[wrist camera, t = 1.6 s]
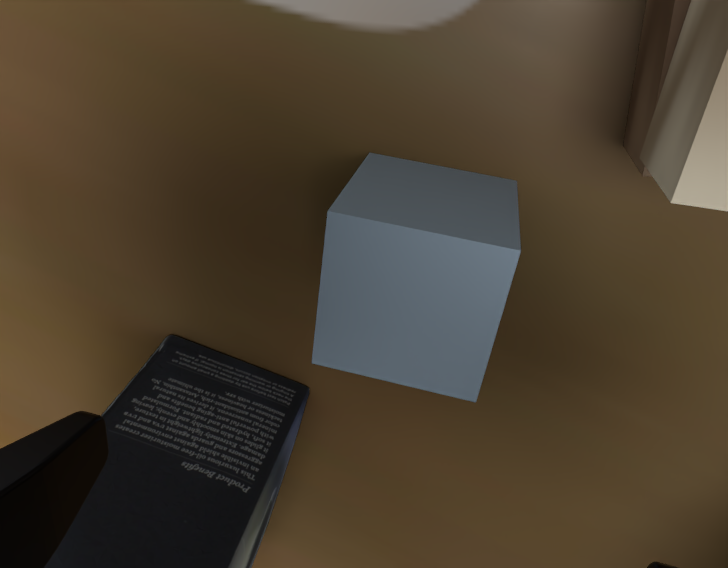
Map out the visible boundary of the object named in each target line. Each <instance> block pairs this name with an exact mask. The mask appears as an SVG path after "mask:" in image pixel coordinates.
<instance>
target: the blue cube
mask: <svg viewBox="0 0 728 568" xmlns="http://www.w3.org/2000/svg"><path fill="white" fill-rule="evenodd" d="M520 252H521V243H520V226H519V209H518V192H517V181H515V180H510V179H505V178H500V177H495V176H489V175H484V174H479V173H474V172H469V171H463V170H458V169H453V168H448V167H443V166H437V165H432V164H427V163H422V162H416V161H411V160H406V159H401V158H396V157H390V156H385V155H380V154H375V153H369V154H368V155H367V157H366V158H365V160H364V161H363V162H362V164H361V165H360V167H359V168H358V169H357V171H356V172H355V174H354V175H353V176H352V178H351V179H350V180H349V182H348V183H347V185H346V186H345V187H344V189H343V190H342V192H341V193H340V194H339V196H338V197H337V199H336V200H335V201H334V203H333V204H332V206H331V207H330V208H329V210H328V212H327V221H326V231H325V240H324V250H323V259H322V269H321V278H320V288H319V297H318V307H317V316H316V326H315V335H314V345H313V355H312V363H313V364H317V365H321V366H325V367H329V368H334V369H338V370H342V371H346V372H350V373H355V374H359V375H363V376H367V377H371V378H376V379H380V380H384V381H388V382H392V383H397V384H401V385H405V386H409V387H413V388H418V389H422V390H426V391H430V392H434V393H438V394H443V395H447V396H451V397H455V398H459V399H464V400H468V401H472V402H476V401H477V397H478V394H479V391H480V387H481V384H482V380H483V377H484V374H485V370H486V367H487V364H488V360H489V357H490V353H491V350H492V347H493V343H494V340H495V337H496V333H497V330H498V326H499V323H500V320H501V316H502V313H503V310H504V306H505V303H506V299H507V296H508V293H509V289H510V286H511V283H512V279H513V276H514V273H515V269H516V266H517V262H518V259H519V256H520Z"/></svg>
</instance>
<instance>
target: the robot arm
mask: <svg viewBox="0 0 728 568" xmlns="http://www.w3.org/2000/svg"><path fill="white" fill-rule="evenodd" d="M108 453H109V447H108V440H107V432H106V424H105V420H104V418H103V417H102V416H100V415H97V414H93V413H89V412H85V411H79V412H75V413H73V414H71V415H69V416H67V417H65V418H63V419H61V420H59V421H56V422H54V423H52V424H50V425H48V426H46V427H44V428H42V429H40V430H38V431H36V432H34V433H32V434H30V435H28V436H26V437H23V438H21V439H19V440H17V441H15V442H13V443H11V444H9V445H7V446H5V447H3V448H1V449H0V568H44V567H45V566H46V564H47V563H48V562H49V560H50V559H51V557H52V556H53V554H54V553H55V551H56V550H57V548H58V547H59V545H60V543H61V542H62V540H63V538H64V537H65V535H66V533H67V531H68V530H69V528H70V526H71V524H72V523H73V521H74V519H75V517H76V515H77V514H78V512H79V510H80V508H81V506H82V505H83V503H84V501H85V499H86V498H87V496H88V494H89V492H90V490H91V489H92V487H93V485H94V483H95V482H96V480H97V478H98V476H99V474H100V473H101V471H102V469H103V467H104V465H105V463H106V461H107V458H108ZM647 568H678V567H675V566H671V565H667V564H664V563H660V562H652V563H650V564H649V566H648V567H647Z"/></svg>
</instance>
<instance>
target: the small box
mask: <svg viewBox="0 0 728 568" xmlns="http://www.w3.org/2000/svg"><path fill="white" fill-rule="evenodd" d="M308 396H309V388H308V387H306V386H304V385H302V384H300V383H297V382H295V381H292V380H289V379H287V378H285V377H282V376H279V375H277V374H274V373H271V372H269V371H266V370H264V369H261V368H258V367H256V366H253V365H251V364H248V363H246V362H243V361H240V360H238V359H235V358H232V357H230V356H227V355H225V354H222V353H219V352H216V351H214V350H211V349H209V348H206V347H203V346H201V345H198V344H196V343H193V342H191V341H188V340H185V339H183V338H180V337H177V336H174V335H170V336H167V337H166V338H165V339H164V340H163V342H162V343H161V344H160V346H159V347H158V348H157V349H156V351H155V352H154V353H153V354H152V355H151V357H150V358H149V359H148V361H147V362H146V363H145V364H144V366H143V367H142V368H141V369H140V370H139V372H138V373H137V374H136V375H135V376H134V378H133V379H132V380H131V381H130V382H129V383H128V384H127V386H126V387H125V388H124V390H123V391H122V392H121V393H120V394H119V395H118V396H117V397H116V398H115V400H114V401H113V402H112V403H111V404H110V405H109V407H108V408H107V409H106V411H105V412H104V413H103V414H102V415H101V416H102V417H103V418H104V420H105V424H106V432H107V440H108V447H109V453H108V458H107V461H106V463H105V465H104V467H103V469H102V471H101V473H100V474H99V476H98V478H97V480H96V482H95V483H94V485H93V487H92V489H91V490H90V492H89V494H88V496H87V498H86V499H85V501H84V503H83V505H82V506H81V508H80V510H79V512H78V514H77V515H76V517H75V519H74V521H73V523H72V524H71V526H70V528H69V530H68V531H67V533H66V535H65V537H64V538H63V540H62V542H61V543H60V545H59V547H58V548H57V550H56V551H55V553H54V554H53V556H52V557H51V559H50V560H49V562H48V563H47V564H46V566H45V567H44V568H251V567H252V564H253V562H254V559H255V556H256V554H257V551H258V548H259V546H260V543H261V541H262V538H263V535H264V533H265V530H266V528H267V525H268V522H269V519H270V516H271V513H272V510H273V507H274V504H275V501H276V498H277V495H278V492H279V489H280V486H281V483H282V480H283V477H284V474H285V471H286V468H287V465H288V461H289V458H290V455H291V452H292V449H293V446H294V443H295V439H296V436H297V433H298V430H299V426H300V423H301V420H302V416H303V413H304V409H305V406H306V402H307V399H308Z"/></svg>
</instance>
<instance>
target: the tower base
mask: <svg viewBox="0 0 728 568" xmlns="http://www.w3.org/2000/svg"><path fill="white" fill-rule="evenodd" d="M690 3H691V0H647V1H646V7H645V14H644V20H643V26H642V32H641V38H640V44H639V50H638V56H637V63H636V69H635V75H634V81H633V87H632V93H631V99H630V105H629V112H628V118H627V124H626V130H625V136H624V142H623V146H624V148H625V149H626V151H627V153H628V154H629V156H630V157H631V159H632V160H633V162H634V163H635V165H636V166H637V168H638V170H639V171H640V173H641V174H642V176H652V175H651V174H650V172H649V171H648V169H647V168H646V167H645V165H644V164H643V162H642V161H641V159H640V155H641V151H642V148H643V145H644V142H645V139H646V136H647V133H648V130H649V127H650V124H651V121H652V118H653V115H654V112H655V109H656V106H657V103H658V100H659V97H660V94H661V91H662V88H663V85H664V82H665V79H666V75H667V72H668V69H669V66H670V63H671V60H672V57H673V54H674V51H675V48H676V45H677V42H678V39H679V36H680V33H681V30H682V27H683V24H684V21H685V18H686V15H687V12H688V9H689V6H690Z"/></svg>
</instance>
